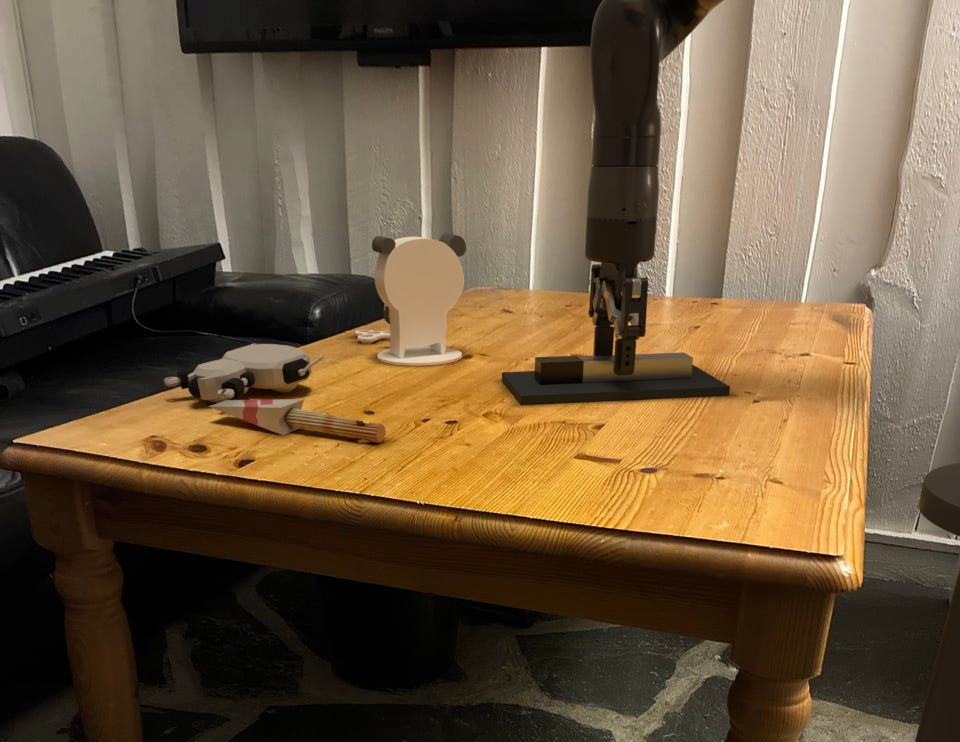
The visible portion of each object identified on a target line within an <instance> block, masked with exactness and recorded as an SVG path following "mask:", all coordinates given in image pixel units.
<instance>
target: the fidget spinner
mask: <svg viewBox="0 0 960 742" xmlns="http://www.w3.org/2000/svg"><path fill="white" fill-rule="evenodd" d="M354 335H355V337H356V339H357V341H358V342H361V343H372V342H376V341H378V340H382V339H390V330H383V331H381V330H380V331H377V330H373V329H357V330H354Z"/></svg>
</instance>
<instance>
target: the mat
mask: <svg viewBox="0 0 960 742" xmlns="http://www.w3.org/2000/svg"><path fill="white" fill-rule="evenodd" d="M501 382H502V383H503V384H504V385H505V387H506V388H507V389H508V390H509V391H510V392H511V394H512V395H513V396H514V397H515V399H516V400H517V401H518V403H520V405H522V406H523V405H525V406H526V405H543V404H545V405H547V404H565V403H590V402H610V401H612V402H613V401H633V400H654V399H674V398H695V397H696V398H697V397H698V398H699V397H716V396H717V397H718V396H730V391H731V385H729V384H727V383H725V382H723V380H720V379H718V378H717V377H715V376H713V375H711V374H710V373H708V372H707V371H704V370H703V369H701V368H699V367H698V366H696V365H694V364H692V373H691V378H687V379H663V380H640V381H617V382H594V383H575V384H552V385H540V384H539V383H538V382H537V381H536V380H535V370H526V371H525V370H523V371H521V370H520V371H503V372H501Z"/></svg>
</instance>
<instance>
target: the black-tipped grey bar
mask: <svg viewBox="0 0 960 742" xmlns="http://www.w3.org/2000/svg"><path fill="white" fill-rule="evenodd" d="M693 362H694V357H693V356H691V355H689V354H687V353H686V352H685V351H684V352H662V353H661V352H660V353H658V352H657V353H635V367H634V373H633V374H632V375H621V376H618V375H616V374H615V373H614V371H613V369H614V354H613V355H606V356H593V355H584V356H583V355H582V356H581V355H580V356H578V355H557V356H555V355H554V356H535V357H534V371H535V380H536V381H537V382H538V383H539V384H540V385H552V384H575V383H594V382H617V381H640V380H663V379H687V378H691V373H692V365H693Z"/></svg>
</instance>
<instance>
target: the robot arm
mask: <svg viewBox="0 0 960 742" xmlns="http://www.w3.org/2000/svg"><path fill="white" fill-rule="evenodd" d="M723 2H725V0H602V1H601V2H600V3H599V5H598V7H597V9H596V12H595V15H594V17H593V21H592V26H591V34H590V71H591V72H590V73H591V87H592V99H593V109H594V110H593V111H594V120H593V129H592V145H591V168H590V174H589V175H590V176H589V182H588V187H587V205H586V226H585V227H586V228H585V250H584V256H585V258H586V259H587V260H588V261H590V262H594V263H596V264H592V265H591V268H590V273H591V274H590V287H589V288H590V289H589V290H590V291H589V303H588V305H589V306H588V317H589V318H591V322H592V325H593V327H594V332H593V337H594V338H593V351H592V352H593V355H592V356H606V355H614V369H613V371H614V373H615V374H616V375H618V376H621V375H632V374H633V373H634V367H635V354H637V353H636V351H637V350H636V349H637V341H638V340H639V339H640V338H644V337H645V336H646V331H647V330H646V329H647V328H646V327H647V312H648V293H649V279H648V277H639V276H638V265H639V264H640V263H646V262H650V261H651V260H653V259H654V257H655V252H656V251H655V250H656V237H657V225H658V224H657V223H658V211H659V196H660V181H659V180H660V179H659V162H660V151H661V150H660V149H661V136H662V115H661V110H660V107H659V102H658V90H659V78H660V77H659V74H660V64H661V63H662V62H663V61H664V60H665V59H666V58H667V57H668V56H669V55H671V54H672V53H673V52H674V51H675V50H676V49H677V48H678V47H679V46H680V45H681V44H682V43H683V42H684V41H685V40H686V39H687V38H688V37H689V36H690V34H691V33H693V32H694V30H696V28H697V27H698V26H699V25H700V24H701V23H702V22H703V20H704V19H705V18H706V17H707V16H708V15H709V14H710V13H711V12H712V11H713V10H714V9H715V8H716V7H718V6H719V5H720V4H721V3H723ZM597 263H600V264H597ZM629 323H630V325H629Z"/></svg>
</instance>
